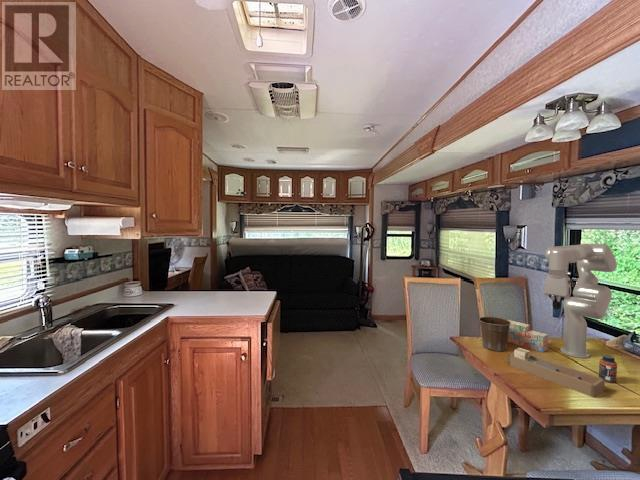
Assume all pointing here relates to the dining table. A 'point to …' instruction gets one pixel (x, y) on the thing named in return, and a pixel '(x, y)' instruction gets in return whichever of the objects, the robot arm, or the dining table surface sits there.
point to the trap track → (560, 374)
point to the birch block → (522, 354)
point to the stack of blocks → (527, 337)
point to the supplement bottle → (608, 368)
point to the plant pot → (494, 333)
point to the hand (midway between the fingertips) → (556, 308)
